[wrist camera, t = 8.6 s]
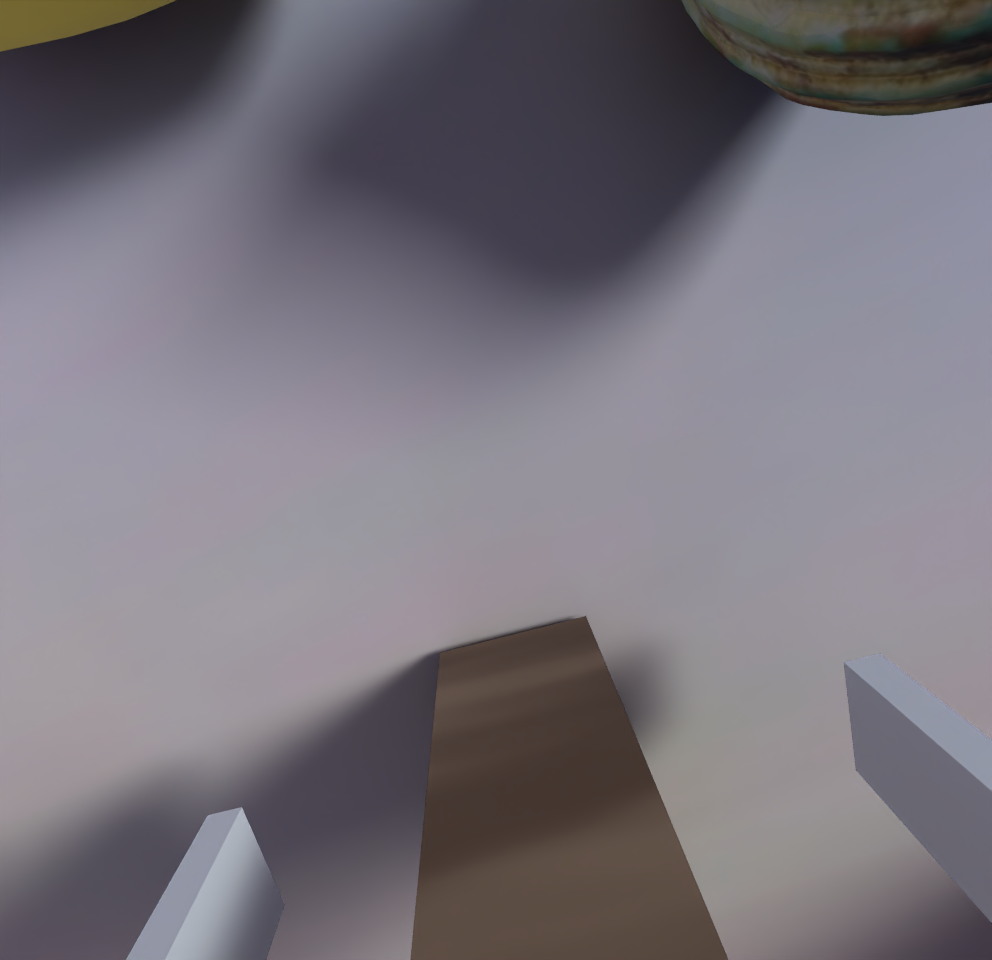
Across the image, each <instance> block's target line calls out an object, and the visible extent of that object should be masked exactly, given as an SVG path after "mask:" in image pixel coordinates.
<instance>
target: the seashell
mask: <svg viewBox="0 0 992 960" xmlns="http://www.w3.org/2000/svg"><path fill="white" fill-rule="evenodd" d="M682 3H683V5H684V7H685V9H686V12H687V13H688V14H689V15H690V16H691V18H692V19H693V21H694V22H695V24H696V25H697V27H698V28H699V30H700V31H701V33H702V34H703V36H704V37H705V38H706V39H707V40H708V41H709V42H710V43H711V44H712V45H713V46H714V47H715V48H716V49H717V50H718V51H719V52H720V53H721V54H722V56H723V57H724V58H726V59H727V60H728V61H730V62H731V63H732V64H734V65H735V66H736V67H738V68H739V69H741V70H743V71H744V72H746V73H748V74H750V75H751V76H753V77H755V78H757V79H759V80H760V81H761V82H763V83H764V84H766V85H767V86H769V87H770V88H771V89H773V90H774V91H776V92H777V93H778V94H780V95H781V96H783V97H784V98H786V99H788V100H791V101H794V102H796V103H799V104H802V105H807V106H812V107H817V108H822V109H827V110H833V111H841V112H849V113H858V114H868V115H880V116H889V115H913V114H920V113H927V112H934V111H941V110H948V109H954V108H960V107H967V106H973V105H979V104H986V103H992V0H682Z"/></svg>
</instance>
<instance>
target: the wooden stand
mask: <svg viewBox="0 0 992 960" xmlns="http://www.w3.org/2000/svg"><path fill="white" fill-rule="evenodd" d="M411 960H728V958H727V955H726V953H725V951H724V948H723V946H722V943H721V941H720V938H719V936H718V934H717V931H716V929H715V926H714V924H713V922H712V919H711V917H710V914H709V912H708V910H707V907H706V905H705V902H704V900H703V898H702V895H701V893H700V890H699V888H698V885H697V883H696V881H695V878H694V876H693V873H692V871H691V869H690V866H689V864H688V861H687V859H686V857H685V854H684V852H683V849H682V847H681V844H680V842H679V840H678V837H677V835H676V832H675V830H674V828H673V825H672V823H671V820H670V818H669V816H668V813H667V811H666V808H665V806H664V804H663V801H662V799H661V796H660V794H659V791H658V789H657V787H656V784H655V782H654V779H653V777H652V775H651V772H650V770H649V767H648V765H647V763H646V760H645V758H644V755H643V753H642V750H641V748H640V746H639V743H638V741H637V738H636V736H635V734H634V731H633V729H632V726H631V724H630V722H629V719H628V717H627V714H626V712H625V710H624V707H623V705H622V702H621V700H620V697H619V695H618V693H617V690H616V688H615V685H614V683H613V681H612V678H611V676H610V673H609V671H608V669H607V666H606V664H605V661H604V659H603V656H602V654H601V652H600V649H599V647H598V644H597V642H596V640H595V637H594V635H593V632H592V630H591V628H590V625H589V623H588V620H587V618H586V616H585V617H581V618H577V619H573V620H569V621H565V622H561V623H557V624H553V625H549V626H545V627H541V628H537V629H533V630H529V631H525V632H521V633H517V634H513V635H509V636H505V637H501V638H497V639H493V640H489V641H485V642H481V643H477V644H473V645H469V646H465V647H461V648H457V649H453V650H449V651H445V652H441V653H440V657H439V668H438V678H437V689H436V699H435V709H434V720H433V730H432V741H431V751H430V762H429V772H428V783H427V793H426V804H425V814H424V824H423V835H422V845H421V856H420V866H419V877H418V887H417V898H416V908H415V918H414V929H413V939H412V950H411Z"/></svg>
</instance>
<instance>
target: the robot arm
mask: <svg viewBox="0 0 992 960" xmlns="http://www.w3.org/2000/svg"><path fill="white" fill-rule="evenodd" d="M844 669H845V678H846V687H847V696H848V705H849V713H850V722H851V731H852V740H853V749H854V757H855V766H856V771H857V772H858V773H859V774H860V775H861V776H862V777H863V779H864V780H865V781H866V782H867V783H868V784H869V785H870V786H871V788H872V789H873V790H874V791H875V792H876V793H877V794H878V795H879V797H880V798H881V799H882V800H883V801H884V802H885V803H886V804H887V806H888V807H889V808H890V809H891V810H892V811H893V812H894V814H895V815H896V816H897V817H898V818H899V819H900V820H901V821H902V823H903V824H904V825H905V826H906V827H907V828H908V829H909V830H910V832H911V833H912V834H913V835H914V836H915V837H916V838H917V839H918V841H919V842H920V843H921V844H922V845H923V846H924V847H925V848H926V850H927V851H928V852H929V853H930V854H931V855H932V856H933V858H934V859H935V860H936V861H937V862H938V863H939V864H940V865H941V867H942V868H943V869H944V870H945V871H946V872H947V873H948V874H949V876H950V877H951V878H952V879H953V880H954V881H955V882H956V883H957V885H958V886H959V887H960V888H961V889H962V890H963V891H964V892H965V894H966V895H967V896H968V897H969V898H970V899H971V900H972V902H973V903H974V904H975V905H976V906H977V907H978V908H979V909H980V911H981V912H982V913H983V914H984V915H985V916H986V917H987V918H988V920H989V921H990V922H991V923H992V740H991V739H990V738H989V737H988V736H986V735H985V734H984V733H982V732H981V731H980V730H978V729H977V728H976V727H975V726H973V725H972V724H971V723H969V722H968V721H967V720H966V719H964V718H963V717H962V716H960V715H959V714H958V713H956V712H955V711H954V710H953V709H951V708H950V707H949V706H947V705H946V704H945V703H944V702H942V701H941V700H940V699H938V698H937V697H936V696H934V695H933V694H932V693H931V692H929V691H928V690H927V689H925V688H924V687H923V686H922V685H920V684H919V683H918V682H916V681H915V680H914V679H912V678H911V677H910V676H909V675H907V674H906V673H905V672H903V671H902V670H901V669H900V668H898V667H897V666H896V665H894V664H893V663H892V662H890V661H889V660H888V659H887V658H885V657H884V656H883V655H881V654H880V653H879V654H875V655H871V656H867V657H862V658H858V659H854V660H850V661H846V662H844ZM283 908H284V902H283V900H282V898H281V895H280V893H279V891H278V889H277V886H276V884H275V882H274V879H273V877H272V875H271V873H270V870H269V868H268V866H267V863H266V861H265V859H264V857H263V854H262V852H261V850H260V847H259V845H258V843H257V841H256V838H255V836H254V834H253V831H252V829H251V827H250V825H249V822H248V820H247V818H246V815H245V813H244V811H243V809H242V807H240V808H236V809H232V810H227V811H223V812H219V813H215V814H211V815H208V816H207V817H206V819H205V821H204V823H203V824H202V826H201V828H200V830H199V832H198V833H197V835H196V837H195V839H194V840H193V842H192V844H191V846H190V847H189V849H188V851H187V853H186V854H185V856H184V858H183V860H182V862H181V863H180V865H179V867H178V869H177V870H176V872H175V874H174V876H173V877H172V879H171V881H170V883H169V885H168V886H167V888H166V890H165V892H164V893H163V895H162V897H161V899H160V900H159V902H158V904H157V906H156V907H155V909H154V911H153V913H152V915H151V916H150V918H149V920H148V922H147V923H146V925H145V927H144V929H143V930H142V932H141V934H140V936H139V938H138V939H137V941H136V943H135V945H134V946H133V948H132V950H131V952H130V953H129V955H128V957H127V959H126V960H266V958H267V955H268V952H269V949H270V946H271V943H272V940H273V937H274V935H275V932H276V929H277V926H278V923H279V920H280V917H281V914H282V911H283Z"/></svg>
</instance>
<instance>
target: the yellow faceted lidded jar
mask: <svg viewBox="0 0 992 960" xmlns="http://www.w3.org/2000/svg"><path fill="white" fill-rule="evenodd" d="M174 1H176V0H0V52H1V51H6V50H10V49H15V48H20V47H24V46H29V45H34V44H39V43H43V42H48V41H53V40H57V39H62V38H67V37H71V36H75V35H78V34H82V33H85V32H89V31H92V30H95V29H99V28H102V27H106V26H109V25H113V24H116V23H119V22H123V21H126V20H129V19H132V18H134V17H137V16H139V15H142V14H144V13H147V12H149V11H152V10H154V9H156V8H159V7H161V6H164V5H166V4H169V3H171V2H174Z"/></svg>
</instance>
